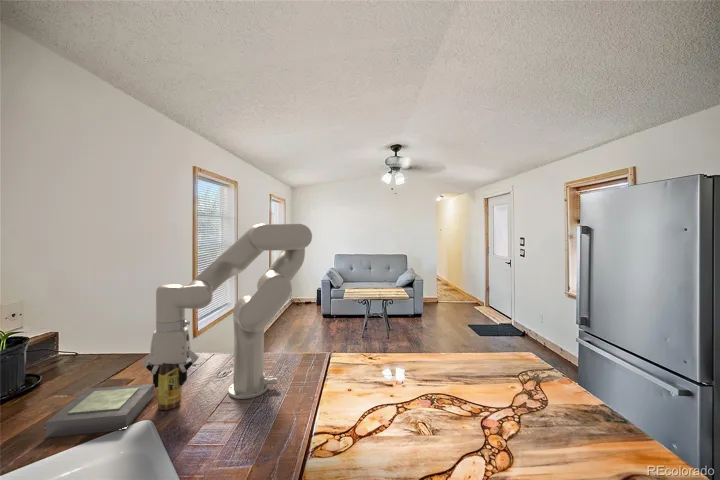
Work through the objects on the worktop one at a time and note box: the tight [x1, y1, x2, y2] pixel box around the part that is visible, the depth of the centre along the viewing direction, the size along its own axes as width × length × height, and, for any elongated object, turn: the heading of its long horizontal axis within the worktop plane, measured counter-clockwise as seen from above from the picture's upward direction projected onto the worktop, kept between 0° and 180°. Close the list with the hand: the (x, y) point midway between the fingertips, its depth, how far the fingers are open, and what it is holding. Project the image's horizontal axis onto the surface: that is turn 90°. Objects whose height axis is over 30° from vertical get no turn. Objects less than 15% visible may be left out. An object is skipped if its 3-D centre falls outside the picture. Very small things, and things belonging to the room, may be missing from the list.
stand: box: [45, 383, 155, 438], centre depth 93 cm, size 18×18×4 cm
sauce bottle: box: [156, 363, 183, 411], centre depth 98 cm, size 7×6×20 cm
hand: (170, 384), depth 98 cm, fingers closed on sauce bottle, 6 cm apart
